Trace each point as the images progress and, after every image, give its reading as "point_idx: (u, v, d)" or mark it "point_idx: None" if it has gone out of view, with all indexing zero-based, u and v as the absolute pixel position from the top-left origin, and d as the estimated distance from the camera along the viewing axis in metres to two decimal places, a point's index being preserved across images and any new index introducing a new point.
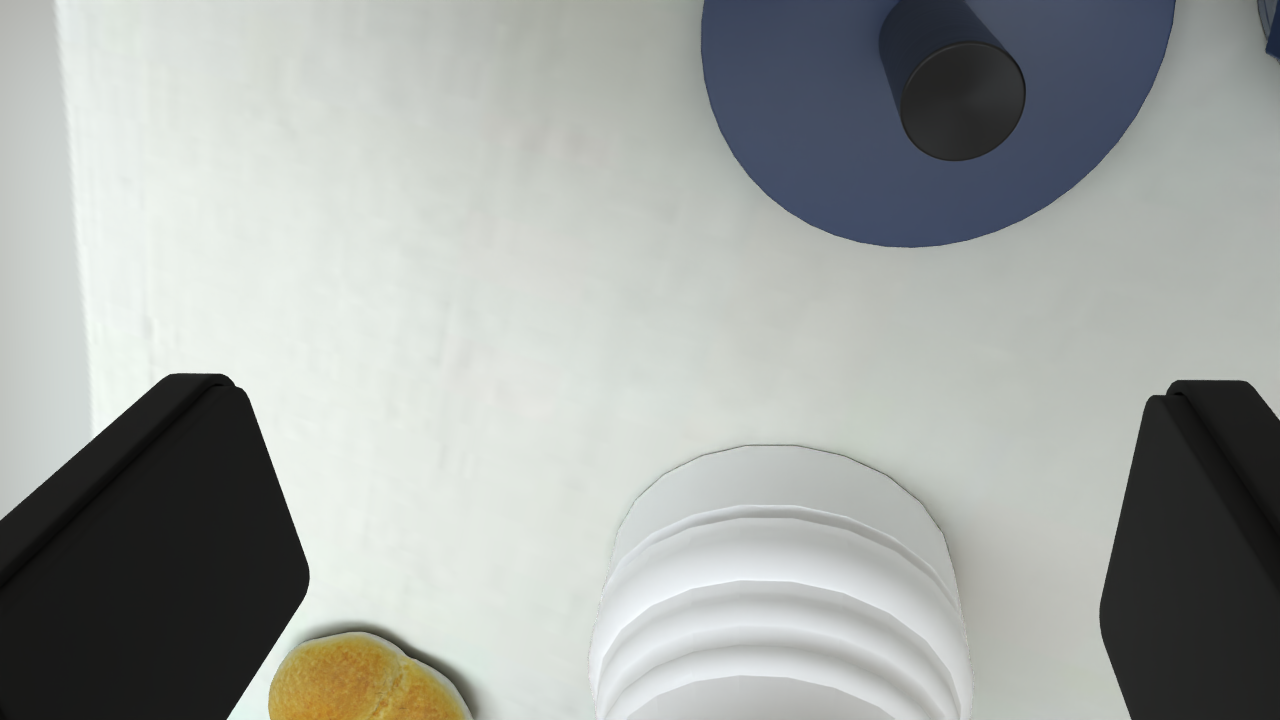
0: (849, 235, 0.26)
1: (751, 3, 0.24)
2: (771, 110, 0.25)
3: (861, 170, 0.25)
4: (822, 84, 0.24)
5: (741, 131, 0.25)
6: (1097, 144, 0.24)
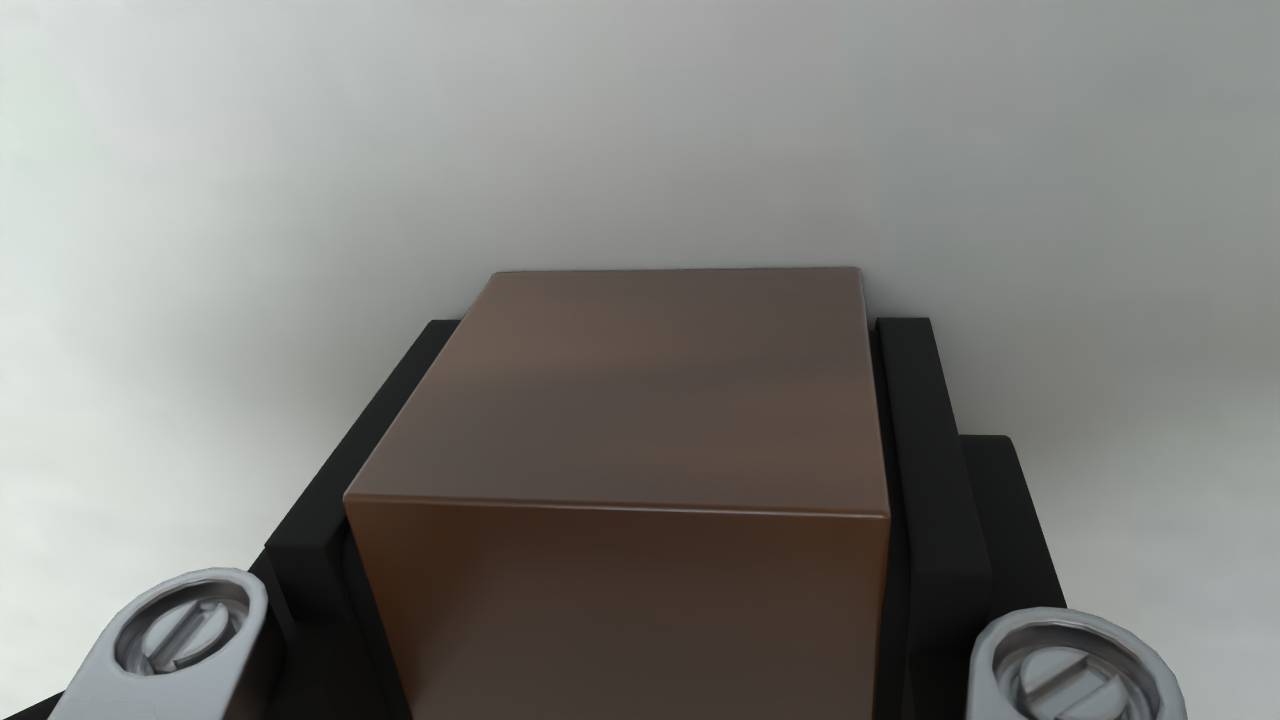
0: None
1: None
2: None
3: None
4: None
5: None
6: None
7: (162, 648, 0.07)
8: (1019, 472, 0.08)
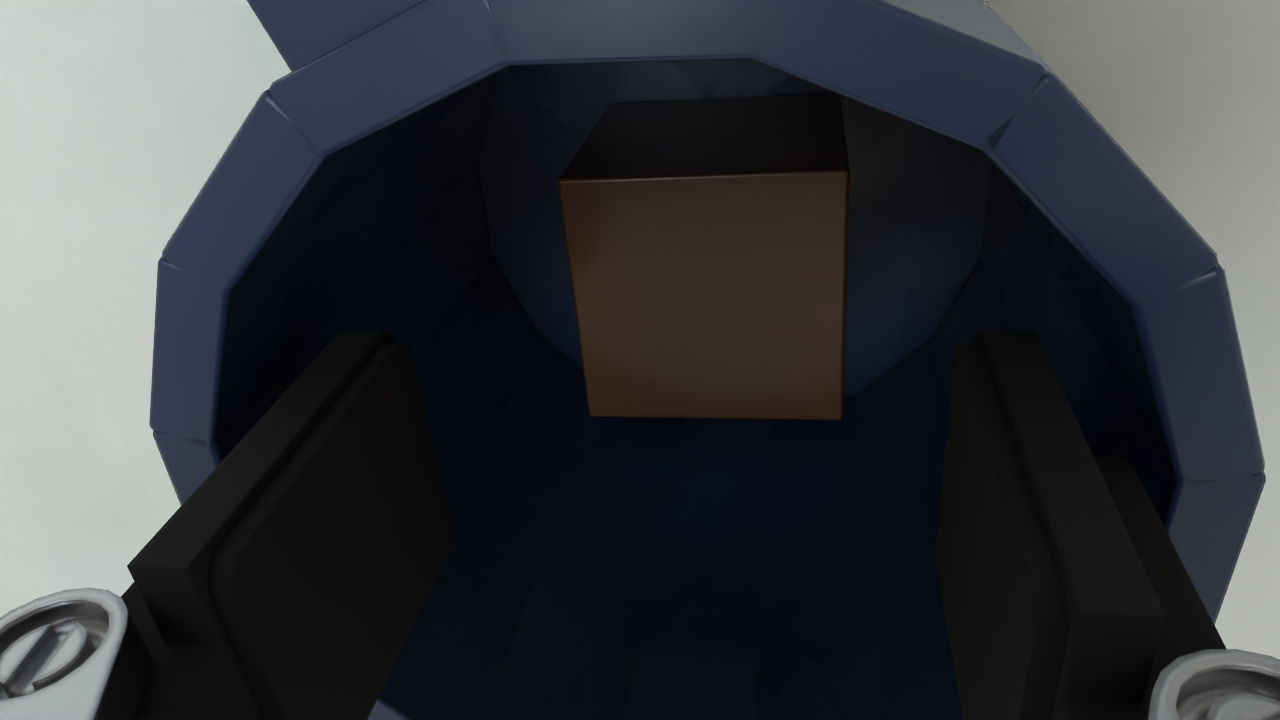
0: None
1: None
2: None
3: None
4: None
5: None
6: None
7: (15, 672, 0.07)
8: (1143, 495, 0.08)
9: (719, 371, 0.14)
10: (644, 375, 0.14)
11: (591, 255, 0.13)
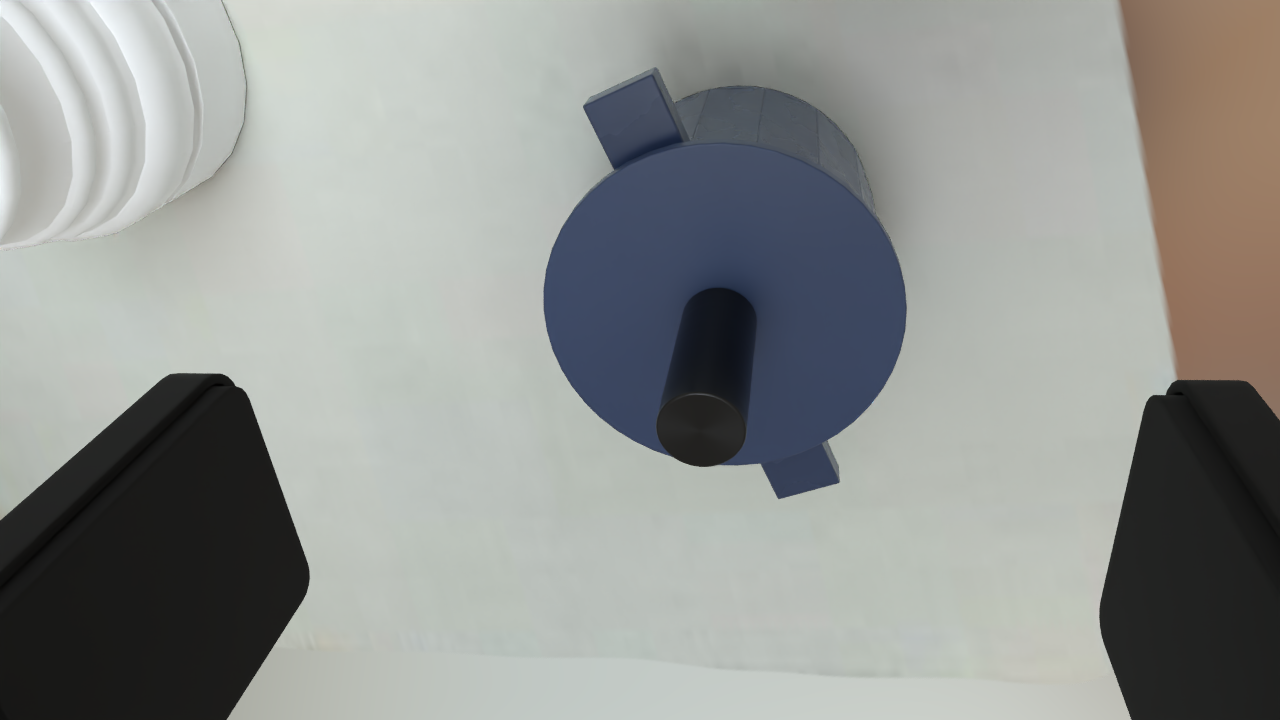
0: (547, 302, 0.30)
1: (721, 184, 0.27)
2: (636, 218, 0.28)
3: (605, 298, 0.29)
4: (668, 253, 0.28)
5: (611, 196, 0.28)
6: None
7: None
8: None
9: None
10: None
11: None
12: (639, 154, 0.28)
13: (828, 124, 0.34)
